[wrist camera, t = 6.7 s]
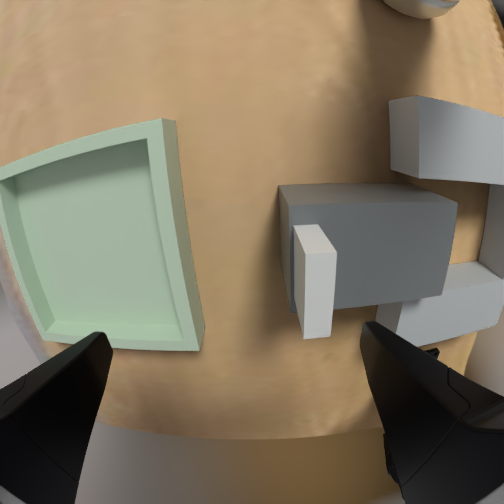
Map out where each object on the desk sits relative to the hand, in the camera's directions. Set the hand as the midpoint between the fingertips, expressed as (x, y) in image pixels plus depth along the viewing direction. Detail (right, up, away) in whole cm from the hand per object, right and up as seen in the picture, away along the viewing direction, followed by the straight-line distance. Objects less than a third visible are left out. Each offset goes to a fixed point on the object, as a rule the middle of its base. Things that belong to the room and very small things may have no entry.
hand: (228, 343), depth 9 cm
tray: (-12, +4, +11) cm, 17 cm away
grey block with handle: (+8, +5, +11) cm, 14 cm away
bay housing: (+16, +5, +10) cm, 20 cm away
